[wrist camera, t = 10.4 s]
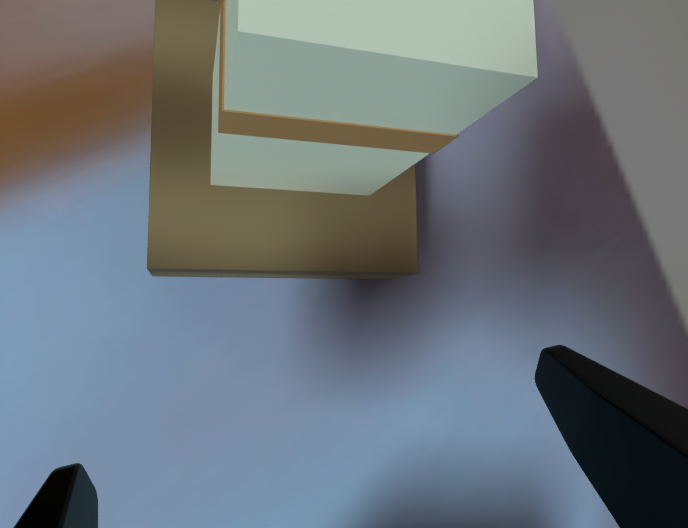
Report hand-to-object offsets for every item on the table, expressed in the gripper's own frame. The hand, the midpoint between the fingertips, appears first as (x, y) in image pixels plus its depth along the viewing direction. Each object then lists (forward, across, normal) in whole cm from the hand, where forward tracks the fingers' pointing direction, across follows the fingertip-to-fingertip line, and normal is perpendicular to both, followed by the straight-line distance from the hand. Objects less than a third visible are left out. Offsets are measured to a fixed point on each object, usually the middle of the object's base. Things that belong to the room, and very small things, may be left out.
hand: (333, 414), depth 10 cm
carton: (+12, -2, -1) cm, 12 cm away
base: (+14, -1, +1) cm, 14 cm away
